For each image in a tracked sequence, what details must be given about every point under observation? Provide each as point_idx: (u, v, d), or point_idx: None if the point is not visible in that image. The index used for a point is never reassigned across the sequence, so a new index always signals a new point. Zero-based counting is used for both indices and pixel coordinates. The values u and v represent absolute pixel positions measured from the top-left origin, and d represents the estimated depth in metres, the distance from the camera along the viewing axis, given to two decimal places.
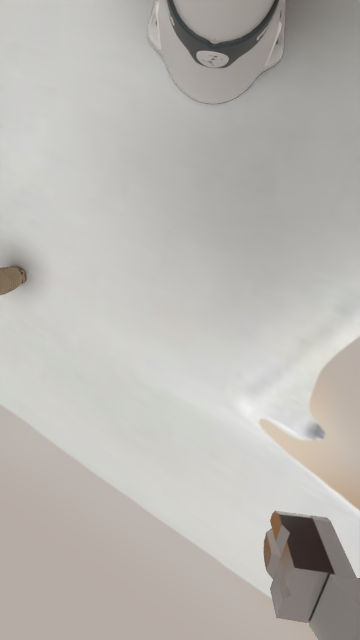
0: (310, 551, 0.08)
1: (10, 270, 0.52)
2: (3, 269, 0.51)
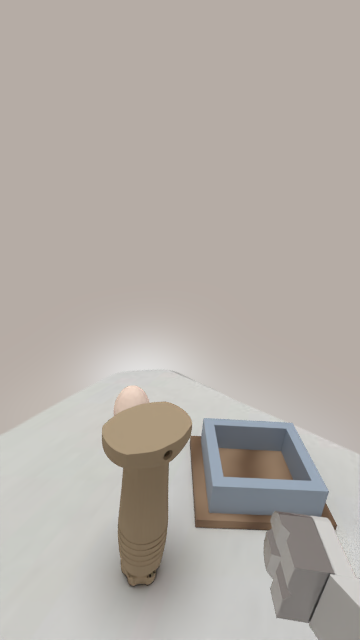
0: (310, 551, 0.08)
1: (162, 547, 0.26)
2: (166, 531, 0.26)
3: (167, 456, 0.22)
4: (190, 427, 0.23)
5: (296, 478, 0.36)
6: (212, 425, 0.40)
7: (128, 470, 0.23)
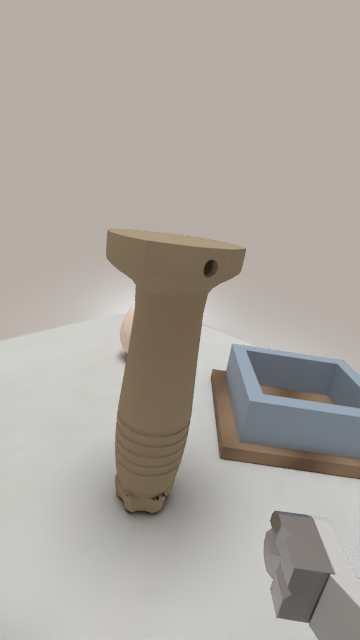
0: (310, 551, 0.08)
1: (179, 455, 0.18)
2: (187, 432, 0.18)
3: (207, 276, 0.14)
4: (243, 251, 0.15)
5: None
6: (243, 350, 0.31)
7: (142, 304, 0.14)
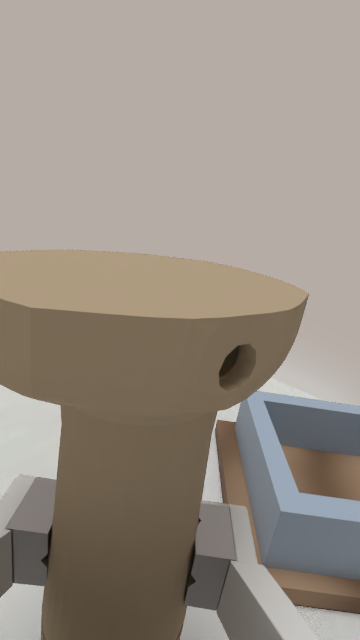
0: (216, 539, 0.08)
1: None
2: None
3: (228, 381, 0.05)
4: (305, 302, 0.07)
5: None
6: (260, 401, 0.23)
7: (70, 432, 0.06)
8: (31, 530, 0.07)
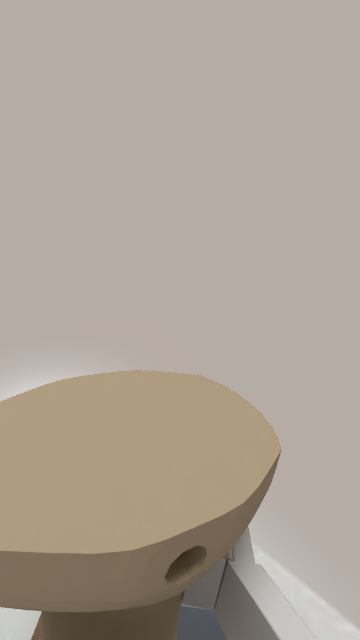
0: None
1: None
2: None
3: (182, 565, 0.06)
4: (276, 460, 0.07)
5: None
6: None
7: None
8: None
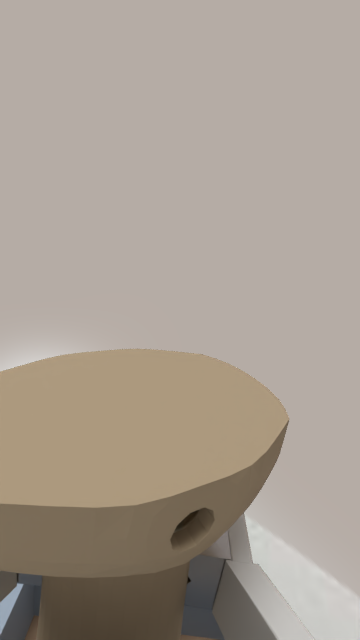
0: None
1: None
2: None
3: (188, 533, 0.05)
4: (283, 430, 0.06)
5: None
6: None
7: None
8: None
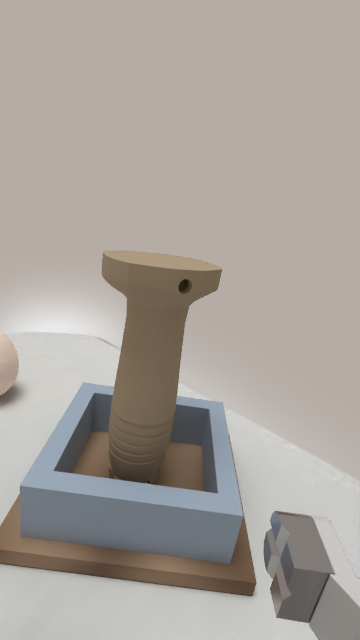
0: (310, 551, 0.08)
1: (163, 447, 0.20)
2: (170, 427, 0.20)
3: (183, 292, 0.16)
4: (219, 272, 0.17)
5: (206, 488, 0.21)
6: (90, 393, 0.25)
7: (131, 314, 0.17)
8: None
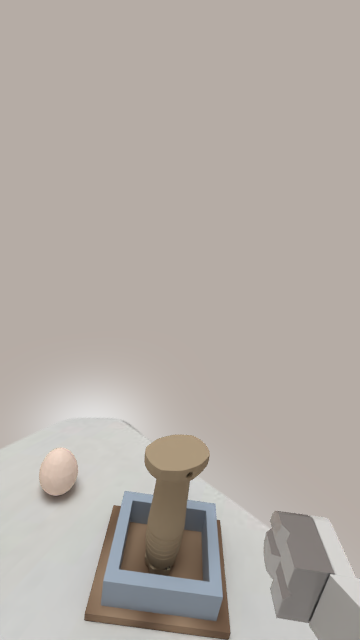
0: (310, 551, 0.08)
1: (178, 547, 0.34)
2: (182, 535, 0.34)
3: (188, 476, 0.30)
4: (208, 457, 0.32)
5: (204, 569, 0.35)
6: (130, 501, 0.39)
7: (160, 482, 0.32)
8: None
